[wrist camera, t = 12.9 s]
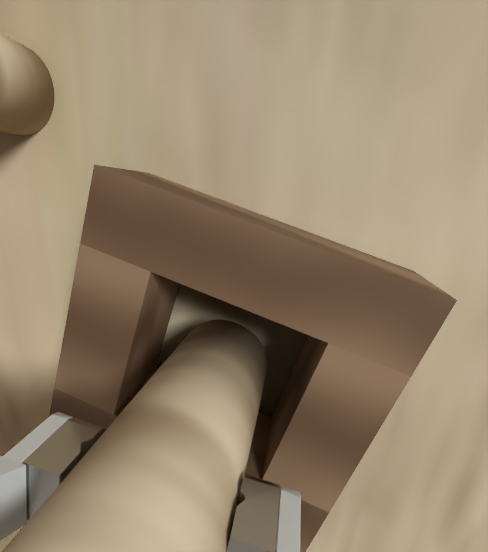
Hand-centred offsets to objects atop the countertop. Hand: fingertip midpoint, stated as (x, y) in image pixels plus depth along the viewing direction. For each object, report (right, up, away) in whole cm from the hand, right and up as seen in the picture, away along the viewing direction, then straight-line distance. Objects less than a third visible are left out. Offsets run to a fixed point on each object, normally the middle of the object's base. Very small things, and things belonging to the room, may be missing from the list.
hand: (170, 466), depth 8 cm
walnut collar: (+1, +2, +8) cm, 8 cm away
